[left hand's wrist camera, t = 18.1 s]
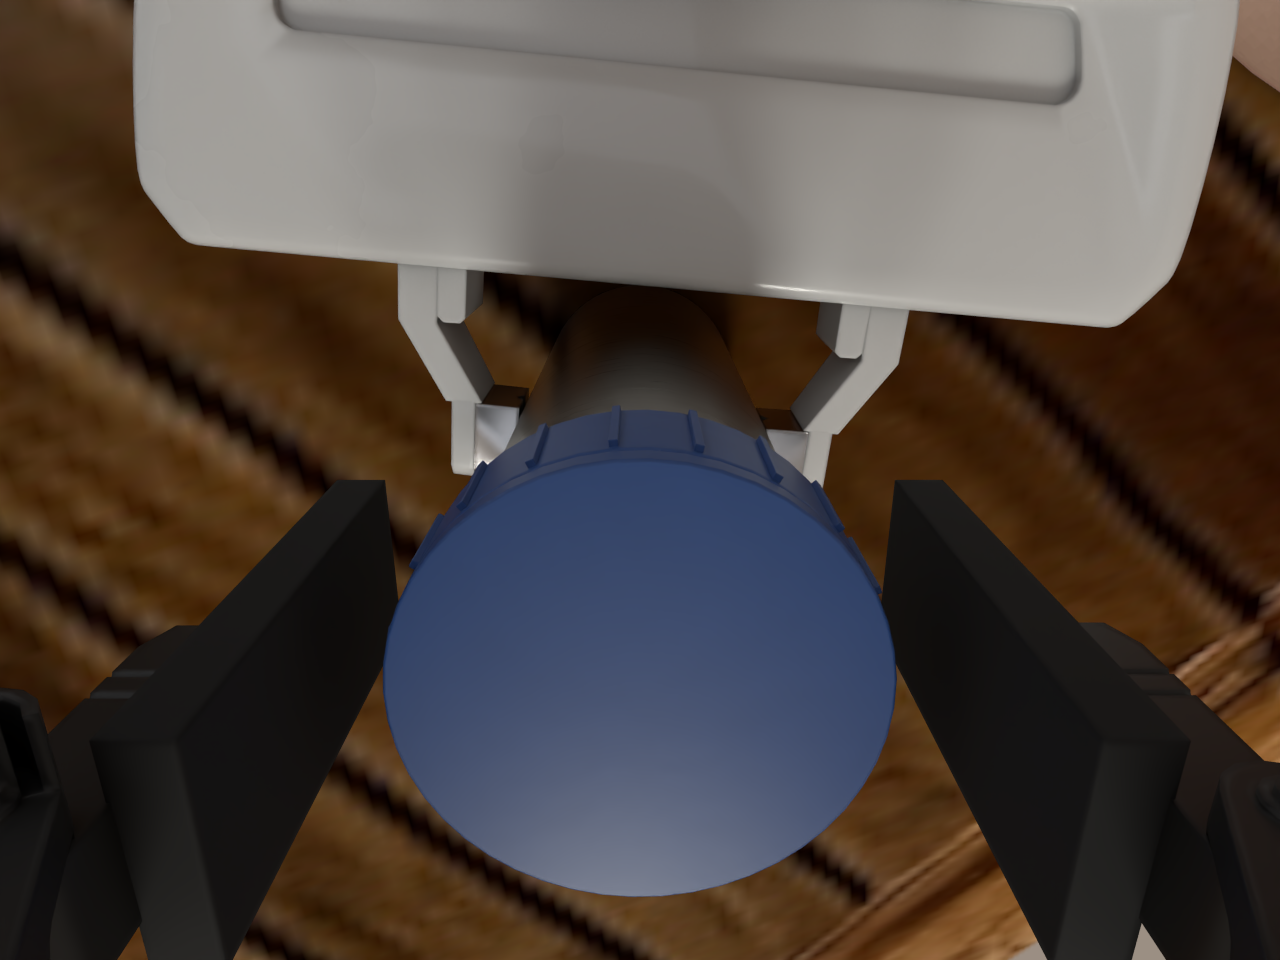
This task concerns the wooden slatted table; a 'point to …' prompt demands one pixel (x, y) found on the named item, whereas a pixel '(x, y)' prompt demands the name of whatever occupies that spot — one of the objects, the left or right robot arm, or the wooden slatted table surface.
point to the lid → (639, 657)
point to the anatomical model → (1259, 39)
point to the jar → (639, 364)
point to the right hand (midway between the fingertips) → (638, 481)
